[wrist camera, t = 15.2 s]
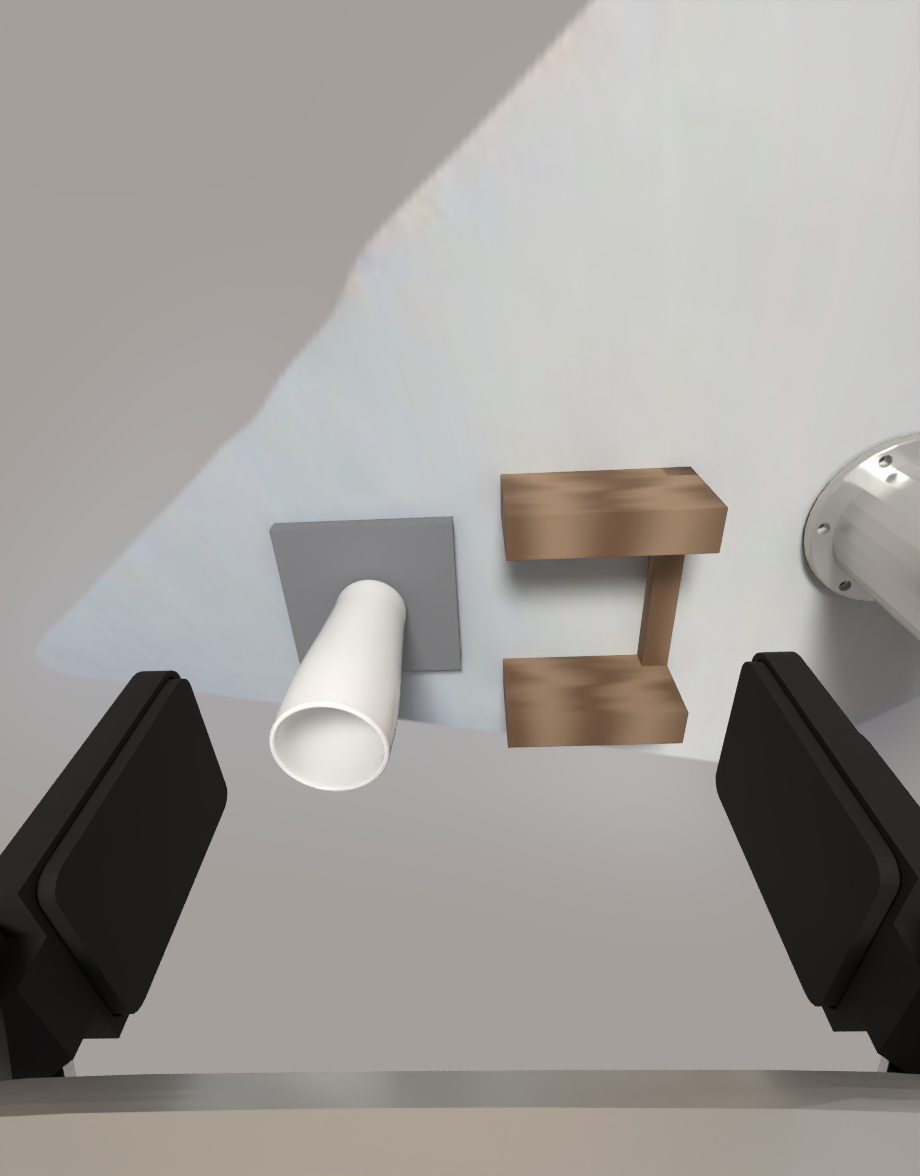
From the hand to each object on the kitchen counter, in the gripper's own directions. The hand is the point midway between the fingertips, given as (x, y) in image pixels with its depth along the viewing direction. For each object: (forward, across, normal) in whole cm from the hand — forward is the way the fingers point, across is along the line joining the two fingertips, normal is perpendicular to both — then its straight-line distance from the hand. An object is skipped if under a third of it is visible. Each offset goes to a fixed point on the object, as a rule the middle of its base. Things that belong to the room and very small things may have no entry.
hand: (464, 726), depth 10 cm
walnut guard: (+32, -9, +17) cm, 37 cm away
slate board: (+32, +8, +17) cm, 37 cm away
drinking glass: (+31, +8, +17) cm, 36 cm away
